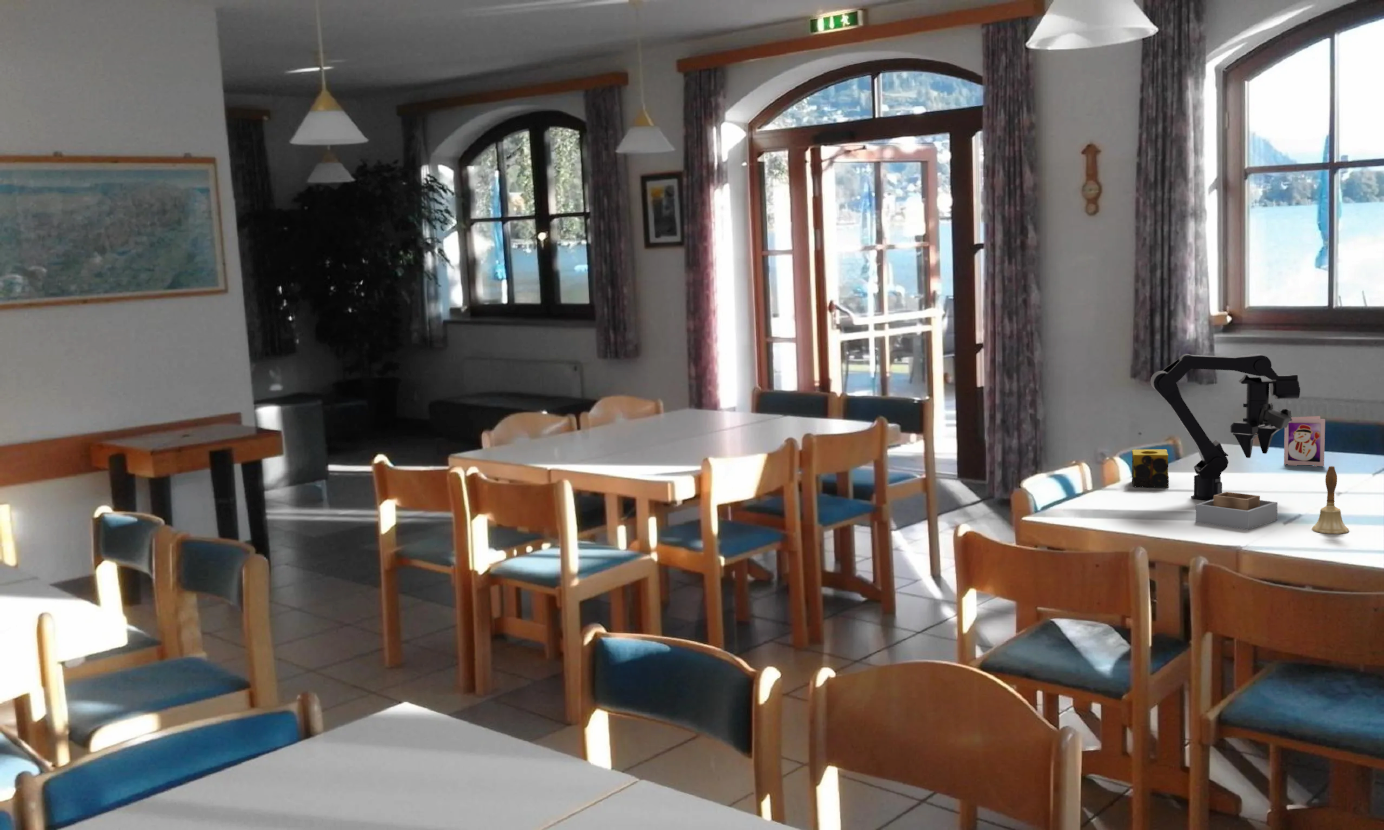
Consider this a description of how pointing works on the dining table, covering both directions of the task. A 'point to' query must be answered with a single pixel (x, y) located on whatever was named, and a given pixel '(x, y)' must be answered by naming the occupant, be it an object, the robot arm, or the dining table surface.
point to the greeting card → (1305, 441)
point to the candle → (1150, 468)
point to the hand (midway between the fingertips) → (1256, 455)
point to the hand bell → (1330, 509)
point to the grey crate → (1236, 515)
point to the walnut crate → (1236, 501)
